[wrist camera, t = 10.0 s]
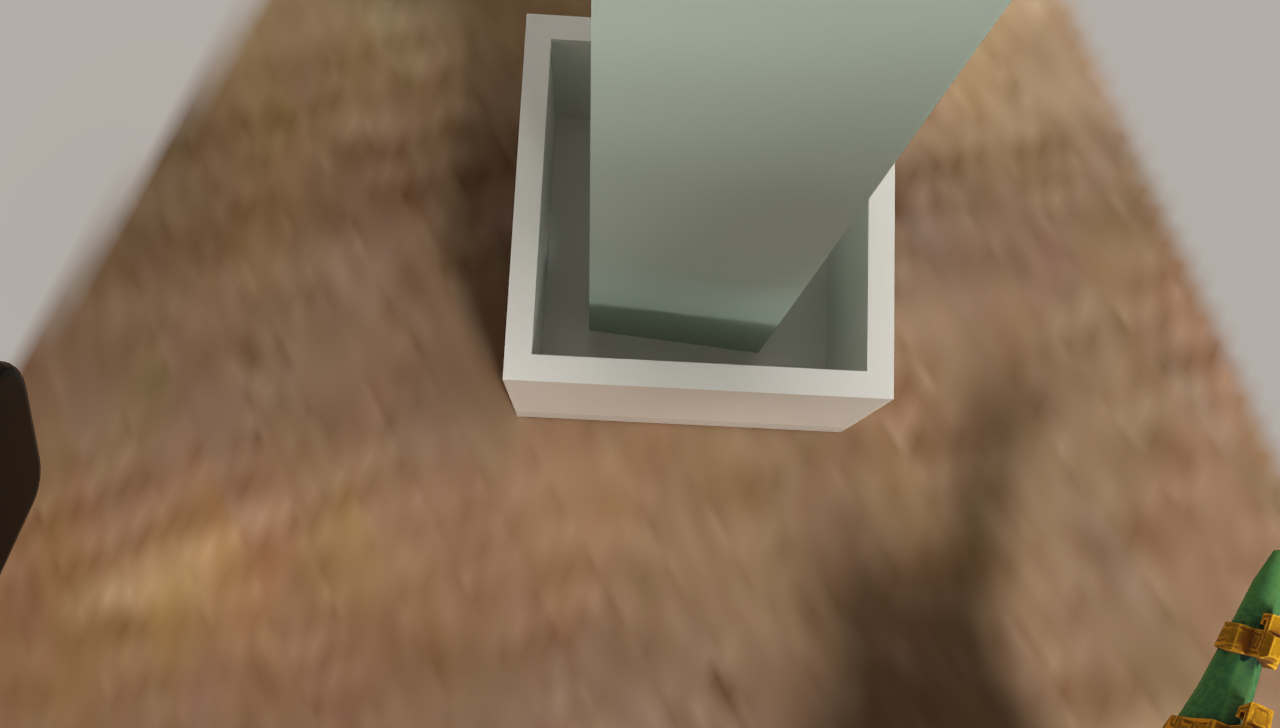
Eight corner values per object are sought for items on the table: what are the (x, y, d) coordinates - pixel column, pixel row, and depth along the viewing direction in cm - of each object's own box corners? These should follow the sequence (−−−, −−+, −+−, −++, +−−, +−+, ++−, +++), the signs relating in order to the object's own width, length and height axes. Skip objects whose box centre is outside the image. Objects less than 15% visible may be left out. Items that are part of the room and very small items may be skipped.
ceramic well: (840, 431, 22) (893, 399, 18) (517, 416, 22) (502, 378, 18) (844, 126, 23) (895, 35, 19) (537, 108, 23) (526, 13, 19)
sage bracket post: (758, 353, 21) (1069, -79, 8) (589, 330, 21) (593, -146, 8) (776, 191, 22) (1095, -484, 8) (611, 169, 22) (652, -551, 8)
